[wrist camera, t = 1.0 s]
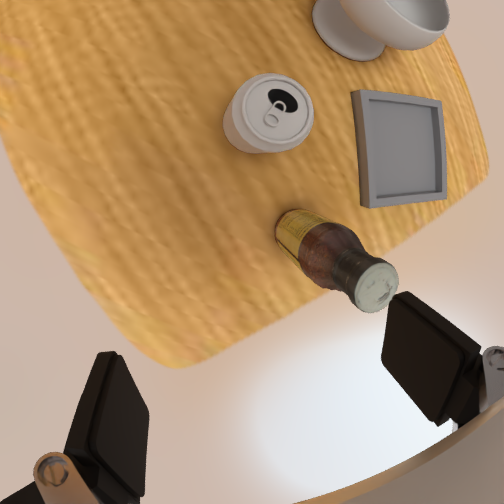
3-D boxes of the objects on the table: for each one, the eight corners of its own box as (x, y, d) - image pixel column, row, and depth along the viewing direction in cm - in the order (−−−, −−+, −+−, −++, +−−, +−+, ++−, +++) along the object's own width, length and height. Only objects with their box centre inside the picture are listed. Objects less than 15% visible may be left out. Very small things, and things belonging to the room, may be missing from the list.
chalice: (296, -15, 27) (339, -71, 13) (377, -2, 29) (434, -37, 15) (314, 65, 32) (376, 26, 18) (397, 72, 33) (468, 53, 19)
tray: (350, 92, 33) (359, 89, 31) (431, 102, 36) (441, 100, 33) (360, 205, 39) (369, 208, 36) (436, 196, 41) (446, 199, 39)
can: (293, 115, 33) (335, 99, 22) (263, 164, 35) (294, 168, 24) (241, 84, 31) (263, 52, 20) (210, 135, 33) (216, 123, 21)
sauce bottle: (318, 247, 40) (407, 319, 21) (275, 256, 39) (341, 343, 20) (314, 200, 37) (413, 244, 19) (268, 208, 37) (341, 263, 18)
